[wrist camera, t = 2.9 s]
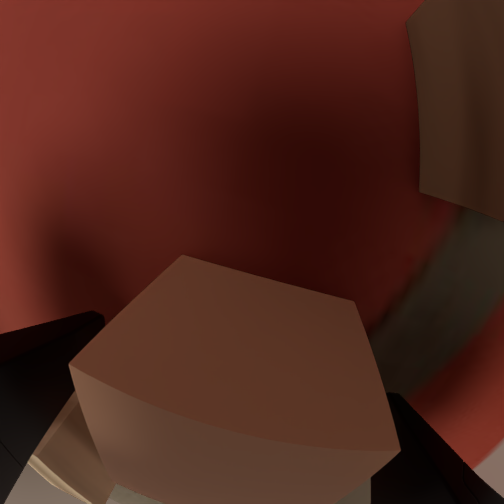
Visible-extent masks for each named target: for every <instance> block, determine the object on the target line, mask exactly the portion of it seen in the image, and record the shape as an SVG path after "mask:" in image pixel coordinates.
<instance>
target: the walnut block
mask: <svg viewBox="0 0 504 504" xmlns="http://www.w3.org/2000/svg"><path fill="white" fill-rule="evenodd" d="M406 27H407V32H408V37H409V42H410V47H411V53H412V59H413V65H414V72H415V80H416V89H417V99H418V112H419V130H420V181H419V192H420V193H424V194H427V195H430V196H433V197H436V198H440V199H443V200H446V201H449V202H452V203H455V204H457V205H460V206H463V207H466V208H469V209H471V210H474V211H477V212H480V213H482V214H485V215H487V216H490V217H492V218H495V219H497V220H500V221H502V222H504V0H425V1H424V2H423V3H422V4H421V5H420V7H419V8H418V9H417V10H416V11H415V12H414V13H413V15H412V16H411V17H410V18H409V19H408V20H407V21H406Z"/></svg>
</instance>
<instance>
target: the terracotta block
mask: <svg viewBox="0 0 504 504" xmlns="http://www.w3.org/2000/svg"><path fill="white" fill-rule="evenodd" d="M69 368H70V372H71V376H72V380H73V383H74V387H75V390H76V394H77V397H78V400H79V403H80V406H81V409H82V412H83V415H84V418H85V421H86V423H87V426H88V429H89V431H90V434H91V437H92V439H93V442H94V444H95V446H96V449H97V451H98V453H99V456H100V458H101V460H102V462H103V464H104V466H105V469H106V471H107V473H108V475H109V477H110V479H111V481H113V482H115V483H117V484H119V485H121V486H123V487H125V488H128V489H130V490H132V491H134V492H137V493H139V494H141V495H144V496H146V497H149V498H151V499H154V500H157V501H159V502H162V503H165V504H335V503H336V502H338V501H339V500H340V499H342V498H343V497H345V496H346V495H348V494H349V493H350V492H352V491H353V490H355V489H356V488H357V487H359V486H360V485H361V484H363V483H364V482H365V481H366V480H368V479H369V478H370V477H371V476H373V475H374V474H375V473H376V472H378V471H379V470H380V469H381V468H382V467H383V466H385V465H386V464H387V463H388V462H389V461H390V460H391V459H393V458H394V457H395V456H396V455H397V454H398V453H399V452H400V451H401V449H400V445H399V440H398V436H397V433H396V429H395V425H394V421H393V417H392V414H391V410H390V407H389V403H388V400H387V396H386V393H385V390H384V386H383V383H382V380H381V377H380V373H379V370H378V367H377V364H376V361H375V358H374V355H373V352H372V349H371V346H370V343H369V340H368V338H367V335H366V332H365V329H364V326H363V324H362V321H361V318H360V315H359V313H358V310H357V307H356V305H355V302H354V301H351V300H347V299H343V298H339V297H335V296H331V295H327V294H324V293H320V292H316V291H312V290H308V289H305V288H301V287H297V286H293V285H289V284H286V283H282V282H278V281H275V280H271V279H267V278H264V277H260V276H256V275H253V274H249V273H245V272H242V271H238V270H235V269H231V268H228V267H224V266H220V265H217V264H213V263H210V262H206V261H203V260H199V259H196V258H192V257H189V256H186V255H181V256H180V257H179V258H178V259H177V260H176V261H174V262H173V263H172V264H171V265H170V266H169V267H168V268H167V269H166V270H164V271H163V272H162V273H161V274H160V275H159V276H158V277H157V278H156V279H155V280H154V281H153V282H151V283H150V284H149V285H148V286H147V287H146V288H145V289H144V290H143V291H142V292H141V293H140V294H139V295H138V296H136V297H135V298H134V299H133V300H132V301H131V302H130V303H129V304H128V305H127V306H126V307H125V308H124V309H123V310H122V311H121V312H120V313H119V314H118V315H117V316H116V317H115V318H113V319H112V320H111V321H110V322H109V323H108V324H107V325H106V326H105V327H104V328H103V329H102V330H101V331H100V332H99V333H98V334H97V335H96V336H95V337H94V338H93V339H92V340H91V341H90V342H89V343H88V344H87V345H86V346H85V347H84V348H83V349H82V350H81V351H80V352H79V353H78V354H77V355H76V356H75V357H74V358H73V360H72V361H71V362H70V363H69Z"/></svg>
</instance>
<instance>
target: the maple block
mask: <svg viewBox="0 0 504 504" xmlns="http://www.w3.org/2000/svg"><path fill="white" fill-rule="evenodd" d="M27 463H28V464H30V466H32V467H33V468H34V469H35V470H36V471H37V472H38V473H39V474H40V475H41V476H43V477H44V478H45V479H46V480H47V481H48V482H49V483H51V484H52V485H54V486H55V487H57V488H59V489H61V490H62V491H64V492H66V493H68V494H70V495H72V496H73V497H75V498H77V499H79V500H81V501H83V502H85V503H87V504H105V503H106V501H107V500H108V498H109V496H110V494H111V492H112V490H113V488H114V486H115V484H116V483H115V482H113V481H111V479H110V477H109V475H108V473H107V471H106V469H105V466H104V464H103V462H102V460H101V458H100V456H99V453H98V451H97V449H96V446H95V444H94V442H93V439H92V437H91V434H90V431H89V429H88V426H87V423H86V421H85V418H84V415H83V412H82V409H81V406H80V403H79V400H78V397H77V394H76V392H75V391H74V393H73V394H72V396H71V397H70V398H69V400H68V401H67V403H66V404H65V406H64V407H63V408H62V410H61V411H60V413H59V414H58V416H57V417H56V419H55V420H54V422H53V423H52V425H51V426H50V428H49V429H48V431H47V432H46V434H45V435H44V437H43V438H42V440H41V442H40V443H39V445H38V446H37V448H36V449H35V451H34V453H33V454H32V456H31V457H30V459H29V461H28V462H27Z"/></svg>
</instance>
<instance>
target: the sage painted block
mask: <svg viewBox="0 0 504 504" xmlns="http://www.w3.org/2000/svg"><path fill="white" fill-rule="evenodd" d="M335 504H371V477H370V478H369V479H368V480H366V481H365V482H364V483H363V484H361V485H360V486H359V487H357V488H356V489H355V490H353V491H352V492H350V493H349V494H348V495H346V496H345V497H343V498H342V499H340V500H339V501H338V502H336V503H335Z"/></svg>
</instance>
